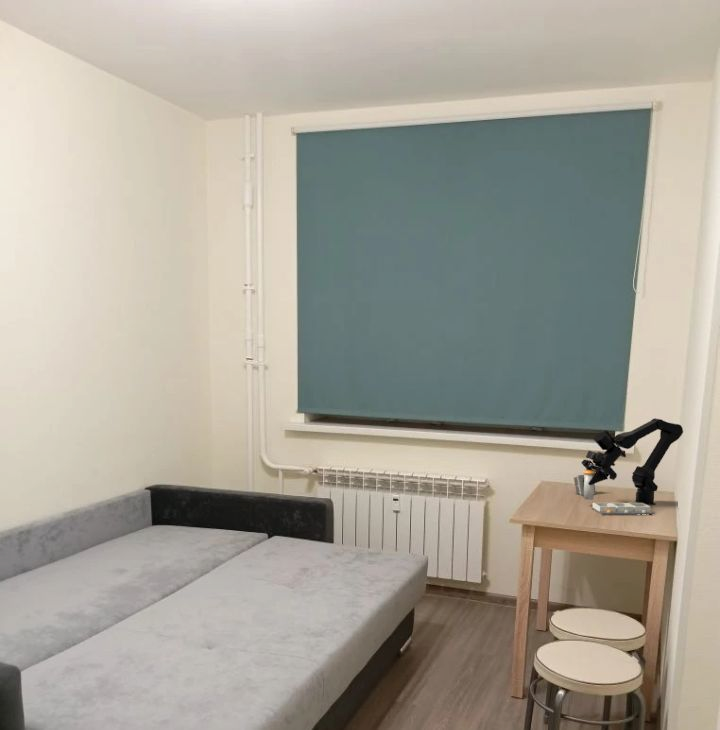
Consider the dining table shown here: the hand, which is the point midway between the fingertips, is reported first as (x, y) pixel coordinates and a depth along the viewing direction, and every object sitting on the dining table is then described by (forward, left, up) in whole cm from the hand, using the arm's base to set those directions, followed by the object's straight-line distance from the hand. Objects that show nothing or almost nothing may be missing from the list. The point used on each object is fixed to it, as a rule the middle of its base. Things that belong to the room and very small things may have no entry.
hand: (586, 483), depth 285 cm
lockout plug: (-1, 0, -7) cm, 7 cm away
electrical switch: (-9, -23, -10) cm, 27 cm away
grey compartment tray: (-11, +10, -10) cm, 18 cm away
